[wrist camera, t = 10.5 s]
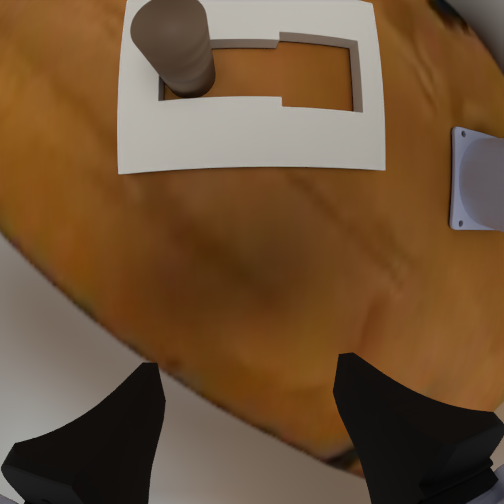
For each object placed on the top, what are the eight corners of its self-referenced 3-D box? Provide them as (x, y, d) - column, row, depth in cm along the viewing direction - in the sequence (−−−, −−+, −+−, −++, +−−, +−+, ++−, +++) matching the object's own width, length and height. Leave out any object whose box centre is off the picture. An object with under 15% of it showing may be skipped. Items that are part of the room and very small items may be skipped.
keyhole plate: (364, 11, 16) (372, 3, 14) (374, 169, 19) (385, 170, 18) (133, 8, 15) (127, -1, 13) (126, 173, 18) (118, 174, 16)
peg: (215, 54, 16) (207, -10, 9) (215, 97, 17) (206, 51, 9) (168, 57, 16) (133, -1, 8) (166, 100, 17) (127, 60, 9)
